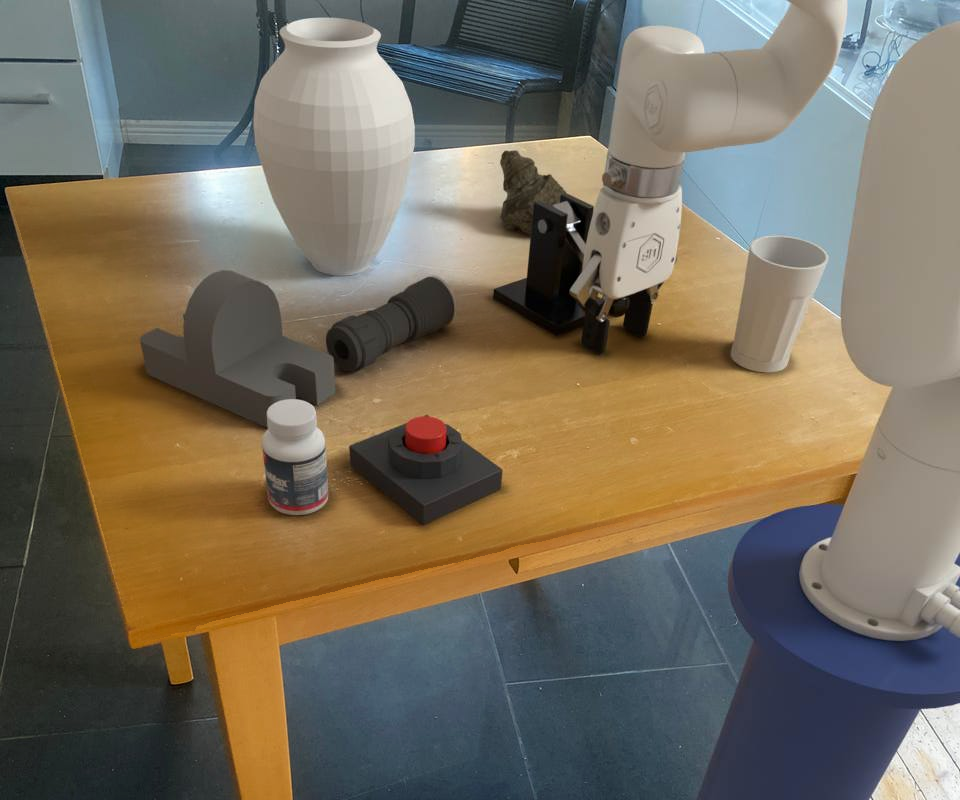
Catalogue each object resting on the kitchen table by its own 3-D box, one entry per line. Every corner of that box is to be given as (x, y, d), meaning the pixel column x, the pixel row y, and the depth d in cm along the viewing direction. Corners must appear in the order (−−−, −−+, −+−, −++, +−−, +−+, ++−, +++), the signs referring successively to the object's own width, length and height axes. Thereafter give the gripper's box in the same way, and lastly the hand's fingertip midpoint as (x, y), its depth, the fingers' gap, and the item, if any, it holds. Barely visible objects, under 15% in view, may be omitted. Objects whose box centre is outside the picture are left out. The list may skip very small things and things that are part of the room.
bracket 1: (208, 335, 106) (193, 235, 98) (340, 390, 100) (335, 288, 92) (141, 371, 100) (119, 268, 92) (277, 432, 94) (266, 326, 86)
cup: (741, 378, 106) (770, 270, 97) (711, 342, 111) (737, 237, 103) (807, 373, 107) (842, 266, 99) (775, 337, 113) (806, 233, 104)
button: (454, 446, 87) (454, 429, 86) (422, 460, 85) (422, 443, 84) (429, 428, 89) (429, 411, 88) (397, 441, 87) (397, 424, 86)
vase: (442, 274, 119) (448, 41, 102) (314, 309, 111) (298, 62, 94) (363, 222, 129) (357, 1, 111) (241, 251, 121) (213, 17, 103)
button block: (501, 489, 89) (504, 452, 86) (423, 525, 85) (423, 488, 82) (426, 434, 95) (427, 397, 92) (349, 465, 90) (348, 428, 88)
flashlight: (359, 383, 101) (357, 334, 97) (322, 364, 103) (318, 316, 99) (456, 331, 109) (457, 285, 106) (420, 315, 112) (420, 269, 108)
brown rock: (529, 152, 134) (471, 163, 129) (585, 123, 124) (524, 134, 119) (550, 238, 137) (494, 252, 132) (606, 216, 127) (548, 230, 123)
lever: (626, 319, 109) (641, 301, 106) (606, 326, 108) (621, 308, 105) (559, 217, 110) (572, 197, 108) (538, 223, 109) (551, 203, 106)
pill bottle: (258, 492, 87) (246, 404, 81) (310, 474, 89) (303, 387, 83) (285, 524, 84) (276, 435, 78) (339, 505, 86) (334, 417, 80)
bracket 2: (612, 314, 114) (628, 212, 106) (556, 336, 110) (569, 231, 102) (548, 279, 120) (559, 179, 112) (492, 298, 116) (499, 195, 107)
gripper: (608, 205, 91) (582, 378, 104) (727, 169, 100) (689, 333, 112) (553, 178, 95) (534, 348, 108) (672, 145, 103) (641, 306, 116)
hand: (613, 338), depth 110 cm, fingers open, 6 cm apart
